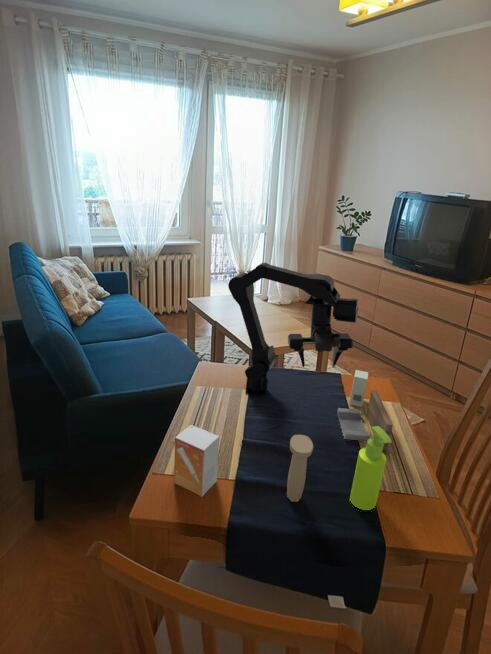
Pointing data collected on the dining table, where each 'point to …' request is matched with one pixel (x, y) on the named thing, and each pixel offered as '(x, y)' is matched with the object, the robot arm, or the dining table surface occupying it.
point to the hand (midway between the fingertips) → (318, 366)
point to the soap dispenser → (369, 471)
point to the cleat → (352, 424)
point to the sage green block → (359, 388)
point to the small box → (196, 460)
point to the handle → (298, 466)
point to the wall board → (379, 418)
